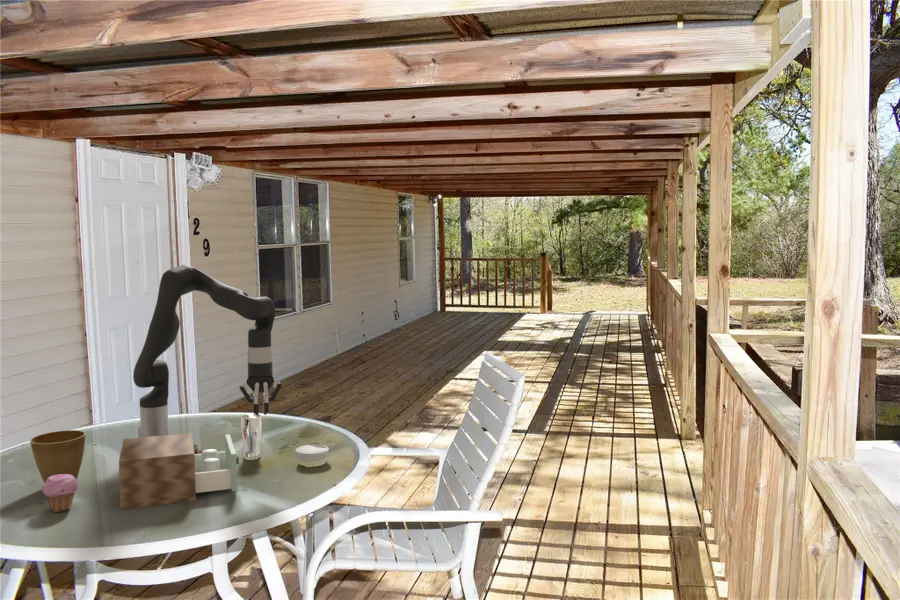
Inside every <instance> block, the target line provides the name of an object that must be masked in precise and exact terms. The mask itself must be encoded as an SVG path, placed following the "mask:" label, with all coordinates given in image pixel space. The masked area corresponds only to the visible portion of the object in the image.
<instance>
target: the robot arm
mask: <svg viewBox="0 0 900 600" xmlns="http://www.w3.org/2000/svg"><path fill="white" fill-rule="evenodd" d="M194 291H195V292H196V291H197V292H203V293H204V294H207V295H208V296H209V297H210V299H211V300H212V301H213V302H214V303H215V304H216V305H218V306H220V307H222V308H224V309H227V310H229V311H233V312H235V313H236V314H238V315H239V316H241V317H242V318H243V319H246V320H249V321H255V322H254V326H253V327H251V328H250V329H248V332H247V346H248V347H247V357H246V359H247V379H246V381H245V382H244V383H243V384H239V385H238V388H239V390H240V392H241V393H242V395H243V396H244V397H245V399H246V400H247V403H250V404H252V411H253V414H256V415H258V414H259V403H258V402H259V394H260V393H262V395H263V405H262V409H263V410H262V411H263V415H264V416H267V414H268V413H269V410H270V409H269V403H270V402H273V401H275V399H276V397H277V396H278V394H279V392H280V390H281V389H282V385H283V384H282V383H281V382H280V381H276V380H275V379H274V375H273V373H274V372H273V349H272V330H273V326H274V321H275V317H276V307H275V303H274V301H273V299H272V298H270V297H268V296H259V297H251V296H249V295H248V293H247V292H246V291H244V290H241V289H239V288H236V287H234V286H231V285H227V284H226V283H222V282H221V281H219V280H218V279H215V278H213V277H212V276H210V275H208V274H207V273H205V272H203V271H201V270H200V269H198V268H195V267H194V266H192V265H189V264H181V265H178V266H176V267H173V268H169V269H168V270H166V271H164V272H163V274H162V275H161V279H160V281H159V289H158V293H157V299H156V304H155V307H154V311H153V314H152V318H151V320H150V323H149V326H148V330H147V335H146V337H145V340H144V345H143V347H142V350H141V352H140V354H139V356H138V359H137V361H136V363H135V366H134V368H133V375H132V377H133V382H134V383H133V384H135V386H136V387H137V388H139V389H140V388H141V389H142V388H143V389H147V388H151V387H153V388H152V390H151V391H150V392H148V393H147V394H145V395H144V396H143V395H142V397H141V398H140V399H139V417H140V418H139V420H140V421H139V422H140V425H139V426H138V428H137V438H141V437H152V436H163V435H170V433H169V432H170V431H169V405H168V404H169V402H168V401H169V400H168V399H169V391H170V390H169V388H170V387H169V386H170V385H169V384H170V381H169V380H170V372H169V366H168V364H167V361H165V360H164V359H158V358H159V357H160V356H161V355H162V354H164V353H165V352H166V351H167V350H168V349H170V347H172V345H173V344H174V342H175V341H176V339H177V337H178V332H179V330H180V326H181V325H180V324H181V321H180V318H179V316H178V313H177V311H176V308H177V306H178V305H177V304H178V302H179V300H180V298H181V297H182V296H183V295H187V294H189V293H192V292H194ZM272 386H273V390H272V391H271V394H270V396H269V390H270V389H271V387H272ZM248 387H249V388H250V389H251V391H252V397H251V396H250V394H249V393H248V392H247V390H248Z"/></svg>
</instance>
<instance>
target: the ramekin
mask: <svg viewBox="0 0 900 600" xmlns="http://www.w3.org/2000/svg"><path fill="white" fill-rule="evenodd" d="M294 451H295V455H296V460H297V459H298V460H299V461H303V462H310V461H318V460H321V459H324V458H326V457H327V456H329V452H330V448H329V446H327V445H322V444H306V445H305V444H304V445H301V446H298V447H297V448H296V449H295V450H294ZM327 458H328V457H327Z"/></svg>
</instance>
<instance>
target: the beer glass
mask: <svg viewBox="0 0 900 600" xmlns="http://www.w3.org/2000/svg"><path fill="white" fill-rule="evenodd" d="M240 418H241V420H240V421H241V423H240V431H241V432H240V433H241V439H242V443H243V455H244V456H246V457H253V456H257V455H259V454H261V450H260V449H261V448H260V447H261V445H260V444H261V439H262V431H263V428H262V426H263V424H262V416H261V414H259V413H258V415H256V414H254V413H247V414H243V415H241V417H240Z"/></svg>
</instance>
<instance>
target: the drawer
mask: <svg viewBox="0 0 900 600" xmlns="http://www.w3.org/2000/svg"><path fill="white" fill-rule="evenodd" d="M224 437H225V438H224V441H225V450H223V451H218V449H214V448H209V449H204V450H202V454H194V456H195V493H196V494H197V493H199V494H200V493H206V492H215V491H224V490H231V491H232V492H235V491H238V483H237V482H238V479H237V478H238V476H237V475H238V474H237V473H238V472H237V465H239V464H240V461H239V459H240V458H239V456H237V453H236V452H237V451H236V450H235V446H234V443H233V441H232V440H233V439H232V437H231V434H230V433H229V434H225V435H224Z"/></svg>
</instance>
